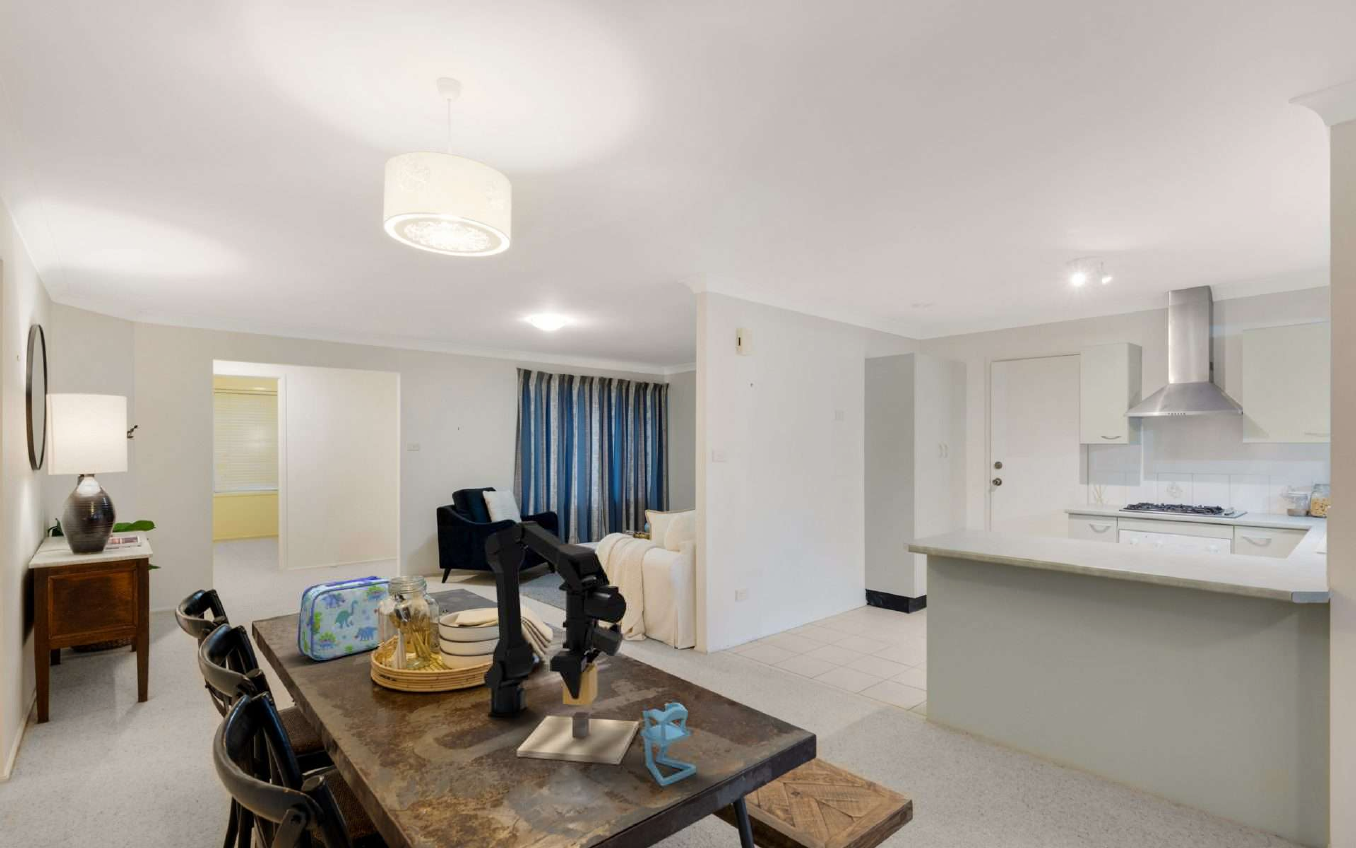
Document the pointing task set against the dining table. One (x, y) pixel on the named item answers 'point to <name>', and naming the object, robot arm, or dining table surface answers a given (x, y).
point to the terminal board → (580, 739)
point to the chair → (666, 740)
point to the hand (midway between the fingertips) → (580, 693)
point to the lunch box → (340, 617)
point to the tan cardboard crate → (584, 687)
